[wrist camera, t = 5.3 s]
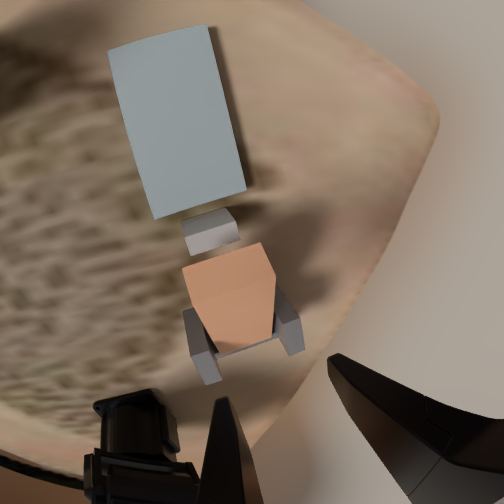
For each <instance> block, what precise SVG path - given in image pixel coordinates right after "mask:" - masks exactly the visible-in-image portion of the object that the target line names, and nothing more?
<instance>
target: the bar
mask: <svg viewBox="0 0 504 504" xmlns="http://www.w3.org/2000/svg"><path fill="white" fill-rule="evenodd" d="M182 271H183V274H184V278H185V281H186V285H187V288H188V291H189V295H190V298H191V302H192V305H193V307H194V308H195V310H196V312H197V314H198V316H199V318H200V319H201V321H202V323H203V325H204V326H205V328H206V330H207V332H208V334H209V335H210V337H211V339H212V341H213V342H214V344H215V346H216V347H217V349H218V351H219V353H220V354H221V355H224V354H227V353H230V352H233V351H235V350H238V349H241V348H244V347H247V346H250V345H252V344H255V343H258V342H261V341H263V340H266V339H269V338H271V337H272V325H273V312H274V298H275V284H276V275H275V273H274V270H273V268H272V266H271V264H270V262H269V260H268V258H267V255H266V253H265V251H264V249H263V247H262V245H261V243H260V242H259V243H256V244H253V245H250V246H247V247H244V248H241V249H238V250H235V251H232V252H229V253H226V254H223V255H220V256H217V257H214V258H211V259H208V260H205V261H202V262H199V263H196V264H193V265H190V266H187V267H184V268H182Z"/></svg>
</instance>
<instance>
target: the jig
mask: <svg viewBox="0 0 504 504" xmlns="http://www.w3.org/2000/svg"><path fill="white" fill-rule="evenodd" d="M181 223H182V228H183V233H184V237H185V240H186V243H187V246H188V249H189V252H190V255H191V256H193V255H196V254H199V253H202V252H205V251H208V250H211V249H214V248H217V247H220V246H223V245H226V244H229V243H232V242H235V241H238V240H240V236H239V232H238V228H237V224H236V221H235V219H234V218H233V217H232V216H231V214H230V213H229V212H228V210H227V209H226V208H225V207H224V208H221V209H218V210H214V211H211V212H208V213H205V214H202V215H199V216H196V217H193V218H190V219H186V220H183V221H181ZM183 317H184V323H185V329H186V334H187V340H188V346H189V351H190V356H191V358H192V360H193V362H194V364H195V366H196V368H197V370H198V372H199V374H200V376H201V378H202V380H203V381H204V383H205V385H209V384H213V383H216V382H219V381H222V377H221V374H220V370H219V367H218V363H217V360H216V359H219V358H222V357H225V356H228V355H230V354H233V353H236V352H239V351H242V350H245V349H248V348H250V347H253V346H256V345H259V344H261V343H264V342H267V341H270V340H272V339H275V338H278V337H279V339H280V341H281V343H282V344H283V346H284V348H285V350H286V351H287V353H288V355H289V356H291V355H293V354H296V353H298V352H301V351H303V350H305V345H304V338H303V332H302V326H301V319H300V317H299V315H298V314H297V312H296V311H295V310H294V308H293V307H292V305H291V304H290V303H289V301H288V300H287V298H286V297H285V296H284V294H283V293H282V291H281V290H280V289H279V287H278V286H277V285H276V284H275V298H274V312H273V325H272V337H271V338H269V339H266V340H263V341H261V342H258V343H255V344H252V345H250V346H247V347H244V348H241V349H238V350H235V351H233V352H230V353H227V354H224V355H221V354H220V353H219V351H218V349H217V347H216V346H215V344H214V342H213V341H212V339H211V337H210V335H209V334H208V332H207V330H206V328H205V326H204V325H203V323H202V321H201V319H200V318H199V316H198V314H197V312H196V310H195V308H192V309H189V310H186V311H183Z"/></svg>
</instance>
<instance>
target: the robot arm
mask: <svg viewBox="0 0 504 504" xmlns="http://www.w3.org/2000/svg"><path fill="white" fill-rule="evenodd" d="M327 367H328V375H329V378H330V380H331V382H332V384H333V386H334V388H335V389H336V391H337V393H338V395H339V397H340V399H341V401H342V403H343V405H344V407H345V408H346V411H347V412H348V414H349V416H350V417H351V419H352V420H353V421H354V423H355V424H356V426H357V427H358V429H359V430H360V431H361V433H362V434H363V436H364V437H365V438H366V440H367V441H368V443H369V444H370V446H371V447H372V448H373V450H374V451H375V453H376V454H377V455H378V457H379V458H380V460H381V461H382V462H383V464H384V465H385V467H386V468H387V469H388V471H389V472H390V473H391V475H392V476H393V478H394V479H395V480H396V482H397V483H398V485H399V486H400V487H401V489H402V490H403V492H404V493H405V494H406V496H408V499H409V500H410V501H411V502H412V504H504V419H493V418H487V417H484V416H481V415H477V414H473V413H470V412H467V411H463V410H460V409H457V408H454V407H451V406H448V405H446V404H443V403H441V402H438V401H436V400H434V399H432V398H429V397H427V396H424V395H423V394H421V393H419V392H416V391H414V390H412V389H410V388H408V387H406V386H404V385H402V384H400V383H398V382H396V381H394V380H392V379H390V378H387V377H385V376H383V375H381V374H379V373H377V372H375V371H373V370H371V369H369V368H367V367H365V366H364V365H362V364H360V363H358V362H356V361H354V360H352V359H350V358H348V357H346V356H344V355H342V354H340V353H337V354H334V355H332V356H330V357H328V358H327ZM93 409H94V410H95V411H96V412H97V413H98V414H99V416H100V417H101V418H102V419H101V442H100V449H99V448H95V447H94V452H93V454H92V453H91V454H87V455H84V496H85V497H86V498H87V499H88V500H89V501H90V503H91V504H264V502H263V498H262V494H261V490H260V486H259V482H258V478H257V474H256V470H255V466H254V462H253V458H252V454H251V451H250V448H249V446H248V443H247V440H246V438H245V435H244V433H243V430H242V427H241V425H240V422H239V419H238V416H237V414H236V411H235V409H234V407H233V405H232V403H231V401H230V399H229V397H228V396H225V397H222V398H219V399H216V401H215V404H214V409H213V415H212V420H211V425H210V430H209V435H208V441H207V446H206V451H205V456H204V462H203V467H202V472H201V478H200V479H199V476H198V474H197V472H196V470H195V468H194V466H193V463H192V462H185V463H182V462H177V459H176V453H179V452H180V444H179V438H178V432H177V423H176V420H175V418H174V416H173V415H172V414H171V412H170V411H169V410H168V408H167V407H166V406H165V405H162V404H161V402H160V401H159V400H158V398H157V397H156V396H155V394H154V393H153V392H152V391H150V390H145V391H142V392H138V393H134V394H130V395H126V396H121V397H117V398H113V399H108V400H104V401H99V402H95V403H94V404H93Z"/></svg>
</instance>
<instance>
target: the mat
mask: <svg viewBox="0 0 504 504" xmlns="http://www.w3.org/2000/svg"><path fill="white" fill-rule="evenodd" d="M107 53H108V57H109V62H110V66H111V71H112V75H113V79H114V84H115V88H116V92H117V96H118V100H119V104H120V108H121V111H122V115H123V119H124V123H125V126H126V130H127V133H128V137H129V141H130V144H131V147H132V151H133V154H134V158H135V161H136V164H137V167H138V171H139V174H140V177H141V180H142V183H143V186H144V189H145V193H146V196H147V199H148V202H149V205H150V208H151V210H152V213H153V216H154V219H158V218H161V217H164V216H167V215H170V214H173V213H176V212H179V211H182V210H185V209H188V208H191V207H194V206H197V205H200V204H204V203H207V202H210V201H213V200H216V199H220V198H223V197H226V196H229V195H233V194H236V193H240V192H243V191H246V190H247V188H246V184H245V180H244V176H243V171H242V167H241V163H240V159H239V155H238V150H237V146H236V142H235V138H234V134H233V130H232V125H231V121H230V117H229V113H228V109H227V105H226V101H225V96H224V92H223V88H222V84H221V80H220V76H219V72H218V68H217V64H216V60H215V56H214V52H213V48H212V44H211V40H210V36H209V32H208V28H207V24H203V25H198V26H193V27H188V28H184V29H179V30H175V31H171V32H167V33H163V34H159V35H155V36H152V37H148V38H145V39H141V40H138V41H135V42H132V43H128V44H125V45H122V46H119V47H117V48H114V49H111V50H108V51H107Z"/></svg>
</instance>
